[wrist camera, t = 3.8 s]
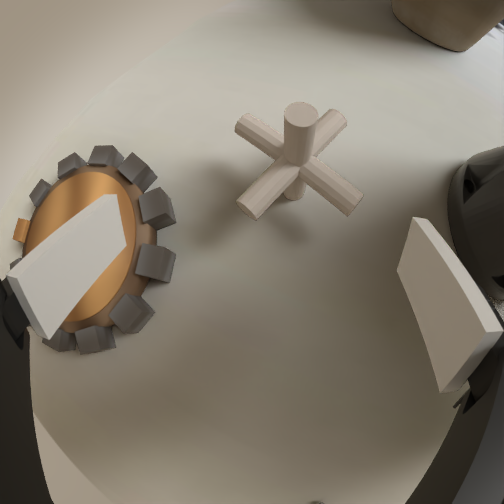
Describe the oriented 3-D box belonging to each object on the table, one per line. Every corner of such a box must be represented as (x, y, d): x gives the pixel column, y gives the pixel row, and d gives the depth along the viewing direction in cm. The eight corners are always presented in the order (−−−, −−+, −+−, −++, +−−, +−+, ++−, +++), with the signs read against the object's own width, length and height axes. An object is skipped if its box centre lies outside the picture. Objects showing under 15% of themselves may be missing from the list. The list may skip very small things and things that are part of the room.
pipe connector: (210, 196, 24) (171, 127, 14) (285, 124, 25) (285, 41, 15) (301, 274, 22) (319, 242, 12) (372, 187, 23) (417, 119, 13)
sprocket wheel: (155, 129, 26) (146, 115, 24) (204, 321, 22) (196, 322, 19) (23, 203, 27) (10, 196, 24) (41, 365, 22) (25, 367, 20)
